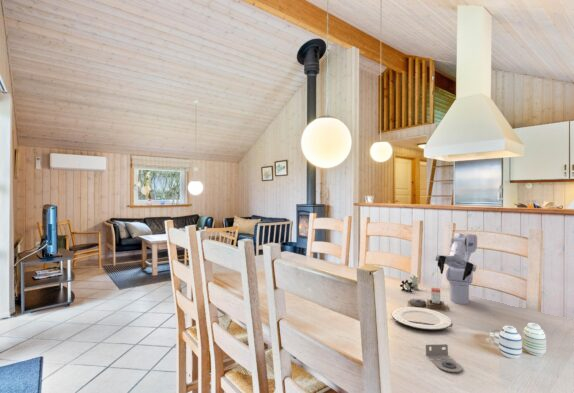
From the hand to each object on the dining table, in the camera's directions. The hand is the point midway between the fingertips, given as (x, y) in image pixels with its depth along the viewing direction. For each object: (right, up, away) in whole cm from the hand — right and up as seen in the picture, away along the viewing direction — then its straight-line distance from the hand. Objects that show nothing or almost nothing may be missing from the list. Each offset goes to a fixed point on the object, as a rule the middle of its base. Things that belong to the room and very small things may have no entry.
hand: (452, 275), depth 120 cm
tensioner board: (-4, -17, +11) cm, 21 cm away
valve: (-2, -17, +35) cm, 39 cm away
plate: (-13, -17, -2) cm, 22 cm away
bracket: (-19, -18, -32) cm, 41 cm away
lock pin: (-2, -16, +10) cm, 19 cm away
